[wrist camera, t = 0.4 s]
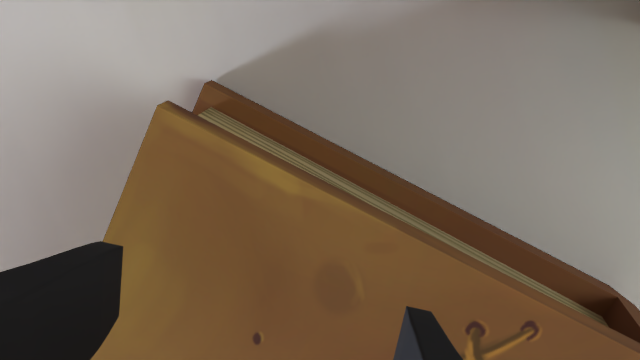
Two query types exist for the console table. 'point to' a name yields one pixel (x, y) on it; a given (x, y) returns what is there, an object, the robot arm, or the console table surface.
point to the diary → (325, 255)
